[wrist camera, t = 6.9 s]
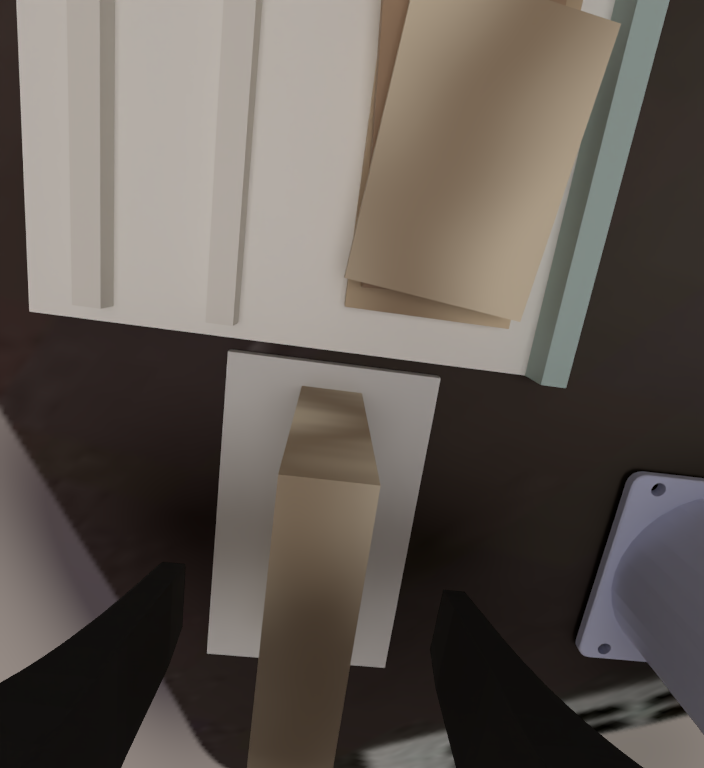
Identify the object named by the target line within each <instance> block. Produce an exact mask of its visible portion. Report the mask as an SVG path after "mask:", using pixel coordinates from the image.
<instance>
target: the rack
mask: <svg viewBox="0 0 704 768" xmlns="http://www.w3.org/2000/svg"><path fill="white" fill-rule="evenodd" d="M16 2H17V26H18V50H19V74H20V98H21V122H22V146H23V170H24V194H25V218H26V242H27V266H28V290H29V312H37V313H45V314H53V315H60V316H68V317H76V318H84V319H91V320H99V321H107V322H115V323H122V324H130V325H138V326H146V327H153V328H161V329H169V330H177V331H184V332H192V333H200V334H208V335H215V336H223V337H231V338H239V339H246V340H254V341H262V342H270V343H277V344H285V345H293V346H301V347H308V348H316V349H324V350H332V351H339V352H347V353H355V354H363V355H370V356H378V357H386V358H394V359H401V360H409V361H417V362H425V363H432V364H440V365H448V366H456V367H463V368H471V369H479V370H487V371H494V372H502V373H510V374H518V375H525V376H527V377H528V378H530V379H532V380H533V381H535V382H537V383H538V384H540V385H545V386H553V387H561V388H566V386H567V382H568V379H569V375H570V371H571V367H572V364H573V360H574V356H575V352H576V349H577V345H578V341H579V337H580V334H581V330H582V326H583V322H584V319H585V315H586V311H587V307H588V304H589V300H590V296H591V292H592V289H593V285H594V281H595V277H596V274H597V270H598V266H599V262H600V259H601V255H602V251H603V248H604V244H605V240H606V236H607V233H608V229H609V225H610V221H611V218H612V214H613V210H614V206H615V203H616V199H617V195H618V191H619V188H620V184H621V180H622V176H623V173H624V169H625V165H626V161H627V158H628V154H629V150H630V146H631V143H632V139H633V135H634V131H635V128H636V124H637V120H638V116H639V113H640V109H641V105H642V101H643V98H644V94H645V90H646V86H647V83H648V79H649V75H650V71H651V68H652V64H653V60H654V56H655V53H656V49H657V45H658V41H659V38H660V34H661V30H662V26H663V23H664V19H665V15H666V11H667V8H668V4H669V0H583V3H582V7H581V11H584V12H587V13H590V14H593V15H596V16H599V17H602V18H605V19H608V20H611V21H614V22H618V23H621V26H620V29H619V32H618V35H617V38H616V41H615V44H614V47H613V49H612V52H611V55H610V58H609V61H608V64H607V67H606V70H605V73H604V76H603V79H602V82H601V85H600V88H599V91H598V94H597V97H596V100H595V103H594V106H593V109H592V112H591V114H590V117H589V120H588V123H587V126H586V129H585V132H584V135H583V138H582V141H581V144H580V147H579V150H578V153H577V156H576V159H575V162H574V165H573V168H572V171H571V174H570V177H569V180H568V182H567V185H566V188H565V191H564V194H563V197H562V200H561V203H560V206H559V209H558V212H557V215H556V218H555V221H554V224H553V227H552V230H551V233H550V236H549V239H548V242H547V245H546V247H545V250H544V253H543V256H542V259H541V262H540V265H539V268H538V271H537V274H536V277H535V280H534V283H533V286H532V289H531V292H530V295H529V298H528V301H527V304H526V307H525V310H524V312H523V315H522V318H521V321H520V322H518V321H514V320H511V322H510V326H509V329H505V328H497V327H490V326H482V325H475V324H468V323H460V322H453V321H446V320H438V319H431V318H424V317H416V316H409V315H402V314H394V313H387V312H380V311H372V310H365V309H358V308H350V307H345V305H344V303H345V295H346V288H347V280H348V279H347V278H344V275H345V271H346V267H347V262H348V258H349V254H350V250H351V245H352V241H353V235H354V227H355V219H356V212H357V204H358V197H359V189H360V182H361V174H362V166H363V159H364V151H365V144H366V136H367V129H368V121H369V114H370V106H371V98H372V91H373V83H374V76H375V68H376V61H377V51H378V37H379V23H380V9H381V0H16Z"/></svg>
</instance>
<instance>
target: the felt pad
mask: <svg viewBox="0 0 704 768" xmlns="http://www.w3.org/2000/svg"><path fill="white" fill-rule="evenodd" d="M440 379H441V378H440V377H439V376H438V375H430V374H423V373H415V372H407V371H399V370H391V369H383V368H375V367H368V366H360V365H352V364H344V363H336V362H328V361H320V360H313V359H305V358H297V357H289V356H281V355H273V354H265V353H258V352H250V351H242V350H234V349H230V350H229V351H228V359H227V373H226V387H225V402H224V416H223V430H222V445H221V459H220V473H219V488H218V502H217V516H216V531H215V545H214V559H213V574H212V588H211V602H210V617H209V631H208V645H207V653H208V654H220V655H233V656H245V657H257V658H259V650H260V640H261V631H262V621H263V612H264V602H265V593H266V584H267V574H268V565H269V555H270V546H271V536H272V527H273V517H274V508H275V498H276V489H277V480H278V473H279V469H280V465H281V462H282V458H283V454H284V450H285V447H286V443H287V439H288V436H289V432H290V428H291V424H292V421H293V417H294V413H295V410H296V406H297V402H298V398H299V395H300V391H301V387H302V386H308V387H317V388H325V389H333V390H341V391H349V392H357V393H362V396H363V401H364V406H365V411H366V416H367V421H368V426H369V431H370V436H371V441H372V446H373V451H374V455H375V460H376V465H377V470H378V475H379V480H380V485H381V486H380V492H379V498H378V504H377V510H376V516H375V522H374V528H373V534H372V540H371V546H370V551H369V557H368V563H367V569H366V575H365V581H364V587H363V593H362V599H361V605H360V610H359V616H358V622H357V628H356V634H355V640H354V646H353V652H352V658H351V664H350V665H356V666H368V667H381V668H385V664H386V659H387V653H388V648H389V643H390V638H391V633H392V627H393V622H394V617H395V612H396V607H397V602H398V596H399V591H400V586H401V581H402V576H403V571H404V565H405V560H406V555H407V550H408V545H409V540H410V534H411V529H412V524H413V519H414V514H415V508H416V503H417V498H418V493H419V488H420V483H421V477H422V472H423V467H424V462H425V457H426V452H427V446H428V441H429V436H430V431H431V426H432V420H433V415H434V410H435V405H436V400H437V395H438V389H439V384H440Z"/></svg>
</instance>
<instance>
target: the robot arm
mask: <svg viewBox="0 0 704 768" xmlns="http://www.w3.org/2000/svg"><path fill="white" fill-rule="evenodd" d="M657 483H658V486H657V488H656V489H655V490H653V491H651V489H652V487H653V486H654V485H655V484H657ZM185 565H186V564H178V563H168V562H162V563H161V564H160V565H158V566H157V567H156V568H155V569H154V570H153V571H151V572H150V573H149V574H148V575H147V576H146V577H145V578H143V579H142V580H141V581H140V582H139V583H138V584H137V585H136V586H134V587H133V588H132V589H131V590H130V591H129V592H127V593H126V594H125V595H124V596H123V597H122V598H120V599H119V600H118V601H117V602H115V603H114V604H113V605H112V606H111V607H109V608H108V609H107V610H106V611H105V612H103V613H102V614H101V615H100V616H98V617H97V618H96V619H95V620H93V621H92V622H91V623H89V624H88V625H87V626H85V627H84V628H83V629H81V630H80V631H79V632H77V633H76V634H75V635H73V636H72V637H71V638H70V639H68V640H67V641H65V642H64V643H62V644H61V645H60V646H58V647H57V648H55V649H54V650H52V651H51V652H49V653H48V654H47V655H45V656H44V657H42V658H41V659H39V660H38V661H36V662H34V663H33V664H31V665H30V666H28V667H26V668H25V669H23V670H21V671H20V672H18V673H17V674H15V675H13V676H11V677H9V678H8V679H6V680H4V681H3V682H1V683H0V768H121V767H122V764H123V762H124V760H125V757H126V755H127V753H128V751H129V749H130V747H131V745H132V743H133V740H134V738H135V736H136V734H137V732H138V730H139V727H140V725H141V723H142V721H143V719H144V717H145V715H146V713H147V711H148V709H149V707H150V705H151V702H152V700H153V698H154V696H155V694H156V692H157V690H158V688H159V685H160V683H161V681H162V679H163V677H164V675H165V672H166V670H167V668H168V666H169V663H170V661H171V658H172V655H173V652H174V649H175V646H176V643H177V641H178V638H179V635H180V632H181V629H182V622H183V603H184V584H185ZM575 644H576V646H577V648H578V650H579V651H580V653H581V654H582V655H584V656H587V657H595V658H607V659H618V660H630V661H642V662H648V664H649V665H650V666H651V668H652V669H653V670H654V671H655V673H656V674H657V675H658V677H659V678H660V679H661V680H662V682H663V683H664V684H665V686H666V687H667V688H668V689H669V691H670V692H671V693H672V695H673V696H674V697H675V698H676V700H677V701H678V702H679V703H680V705H681V706H682V707H683V709H684V710H685V711H686V712H687V714H688V715H689V716H690V718H691V719H692V720H693V721H694V723H695V724H696V725H697V727H698V728H699V729H700V730H701V732H702V733H703V734H704V478H697V477H688V476H679V475H671V474H662V473H654V472H645V471H640V472H636V473H634V474H632V475H631V476H630V477H629V478H628V479H627V481H626V484H625V487H624V490H623V493H622V496H621V499H620V503H619V506H618V509H617V512H616V515H615V518H614V521H613V524H612V528H611V531H610V534H609V537H608V540H607V543H606V546H605V550H604V553H603V556H602V559H601V562H600V565H599V568H598V571H597V575H596V578H595V581H594V584H593V587H592V590H591V593H590V597H589V600H588V603H587V606H586V609H585V612H584V615H583V619H582V622H581V625H580V628H579V631H578V634H577V637H576V643H575ZM600 645H601V646H600ZM430 651H431V658H432V666H433V673H434V680H435V686H436V691H437V695H438V699H439V703H440V707H441V711H442V715H443V719H444V723H445V727H446V731H447V734H448V738H449V742H450V746H451V750H452V754H453V758H454V761H455V765H456V768H643V767H642V766H640V765H639V764H637V763H636V762H635V761H633V760H632V759H631V758H630V757H628V756H627V755H626V754H624V753H623V752H622V751H620V750H619V749H618V748H616V747H615V746H614V745H613V744H612V743H610V742H609V741H608V740H607V739H605V738H604V737H603V736H602V735H600V734H599V733H598V732H597V731H596V730H594V729H593V728H592V727H591V726H590V725H588V724H587V723H586V722H585V721H584V720H583V719H581V718H580V717H579V716H578V715H577V714H576V713H575V712H574V711H573V710H572V709H570V708H569V707H568V706H567V705H566V704H565V703H564V702H563V701H562V700H561V699H560V698H559V697H557V696H556V695H555V694H554V693H553V692H552V691H551V690H550V689H549V688H548V687H547V686H546V685H545V684H544V683H543V682H542V681H541V680H540V679H539V678H538V677H537V676H536V675H535V673H534V672H533V671H532V670H531V669H530V668H529V667H528V666H527V665H526V664H525V663H524V662H523V661H522V660H521V659H520V657H519V656H518V655H517V654H516V653H515V652H514V651H513V650H512V648H511V647H510V646H509V645H508V644H507V643H506V642H505V640H504V639H503V638H502V637H501V636H500V634H499V633H498V632H497V631H496V630H495V628H494V627H493V626H492V625H491V624H490V622H489V621H488V620H487V619H486V618H485V616H484V615H483V614H482V613H481V611H480V610H479V609H478V608H477V606H476V605H475V604H474V603H473V602H472V600H471V599H470V598H469V597H468V595H467V594H466V593H465V592H461V591H450V590H443V594H442V598H441V603H440V607H439V612H438V616H437V621H436V625H435V630H434V634H433V639H432V643H431V648H430Z"/></svg>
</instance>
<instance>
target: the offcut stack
mask: <svg viewBox="0 0 704 768" xmlns="http://www.w3.org/2000/svg"><path fill="white" fill-rule="evenodd" d="M582 3H583V0H381V9H380V23H379V37H378V51H377V61H376V68H375V76H374V83H373V91H372V98H371V106H370V114H369V121H368V129H367V136H366V144H365V151H364V159H363V166H362V174H361V182H360V189H359V197H358V204H357V212H356V219H355V227H354V235H353V241H352V245H351V250H350V254H349V258H348V262H347V267H346V271H345V275H344V278H347V279H348V280H347V288H346V295H345V303H344V305H345V307H350V308H358V309H365V310H372V311H380V312H387V313H394V314H402V315H409V316H416V317H424V318H431V319H438V320H446V321H453V322H460V323H468V324H475V325H482V326H490V327H497V328H505V329H509V326H510V322H511V320H514V321H518V322H520V321H521V318H522V315H523V312H524V310H525V307H526V304H527V301H528V298H529V295H530V292H531V289H532V286H533V283H534V280H535V277H536V274H537V271H538V268H539V265H540V262H541V259H542V256H543V253H544V250H545V247H546V245H547V242H548V239H549V236H550V233H551V230H552V227H553V224H554V221H555V218H556V215H557V212H558V209H559V206H560V203H561V200H562V197H563V194H564V191H565V188H566V185H567V182H568V180H569V177H570V174H571V171H572V168H573V165H574V162H575V159H576V156H577V153H578V150H579V147H580V144H581V141H582V138H583V135H584V132H585V129H586V126H587V123H588V120H589V117H590V114H591V112H592V109H593V106H594V103H595V100H596V97H597V94H598V91H599V88H600V85H601V82H602V79H603V76H604V73H605V70H606V67H607V64H608V61H609V58H610V55H611V52H612V49H613V47H614V44H615V41H616V38H617V35H618V32H619V29H620V26H621V23H618V22H614V21H611V20H608V19H605V18H602V17H599V16H596V15H593V14H590V13H587V12H584V11H581V7H582Z"/></svg>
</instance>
